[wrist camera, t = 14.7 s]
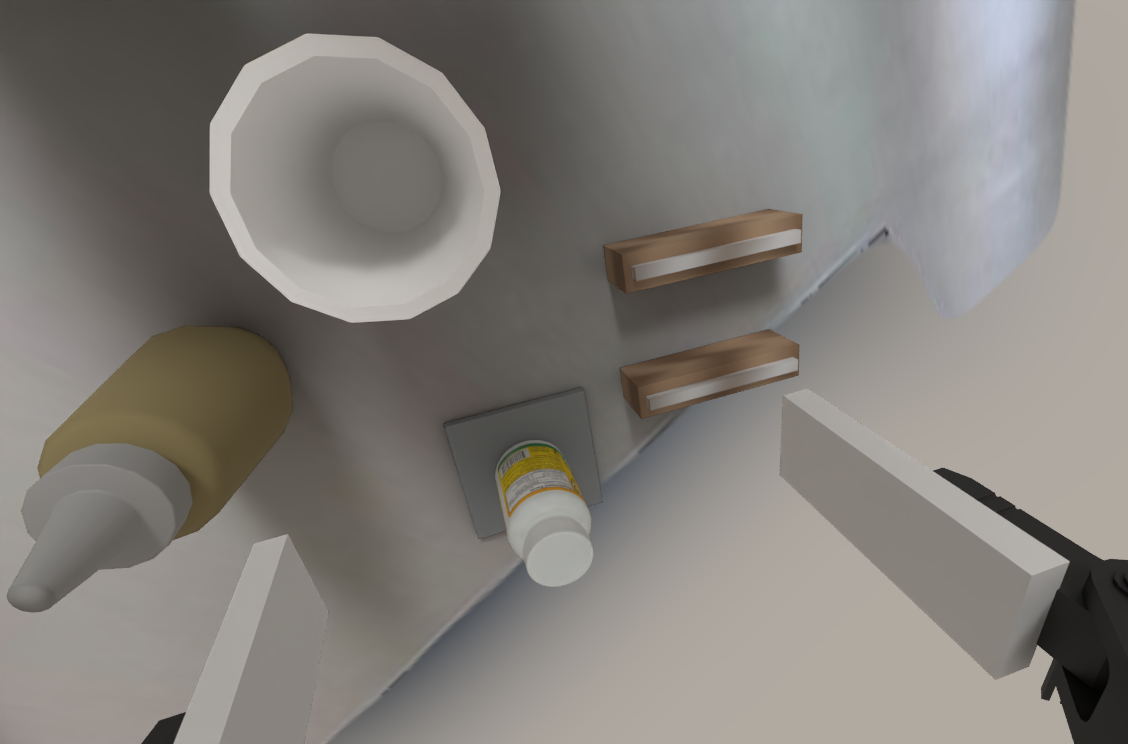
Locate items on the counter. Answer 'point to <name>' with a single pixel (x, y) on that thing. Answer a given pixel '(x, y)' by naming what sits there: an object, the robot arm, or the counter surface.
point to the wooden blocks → (694, 256)
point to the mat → (499, 430)
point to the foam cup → (353, 178)
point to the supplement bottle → (544, 513)
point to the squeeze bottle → (150, 456)
